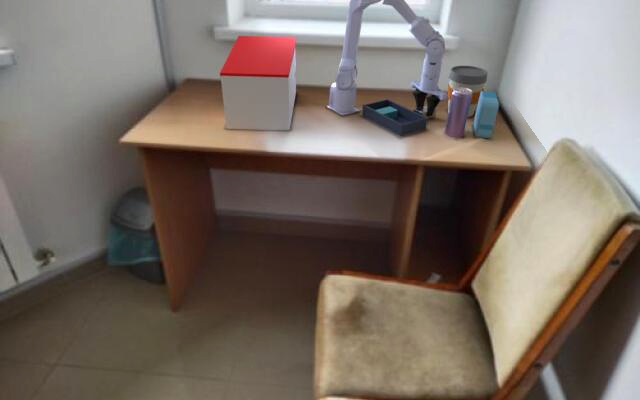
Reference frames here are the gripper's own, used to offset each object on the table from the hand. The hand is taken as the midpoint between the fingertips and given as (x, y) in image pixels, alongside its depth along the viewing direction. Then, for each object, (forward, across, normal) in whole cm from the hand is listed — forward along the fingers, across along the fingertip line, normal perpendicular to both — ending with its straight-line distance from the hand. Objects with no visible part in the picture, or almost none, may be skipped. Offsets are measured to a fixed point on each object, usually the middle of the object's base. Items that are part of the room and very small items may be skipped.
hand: (424, 113), depth 151 cm
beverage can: (+2, -14, +1) cm, 15 cm away
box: (+2, +3, +12) cm, 12 cm away
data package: (+2, -18, -9) cm, 20 cm away
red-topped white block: (+2, +36, +43) cm, 56 cm away
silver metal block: (+1, 0, 0) cm, 1 cm away
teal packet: (+2, +7, +12) cm, 13 cm away
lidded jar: (+2, -2, -16) cm, 16 cm away
